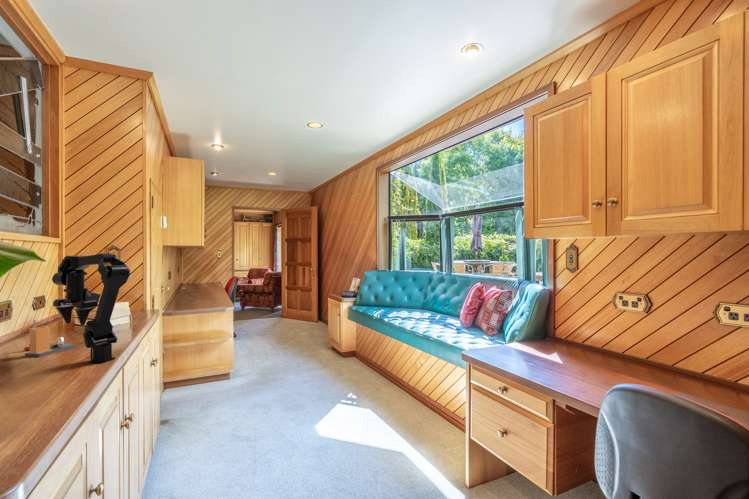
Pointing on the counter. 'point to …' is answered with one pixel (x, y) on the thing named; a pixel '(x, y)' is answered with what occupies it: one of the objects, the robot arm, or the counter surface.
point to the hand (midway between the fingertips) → (75, 324)
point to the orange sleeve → (39, 339)
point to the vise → (52, 348)
